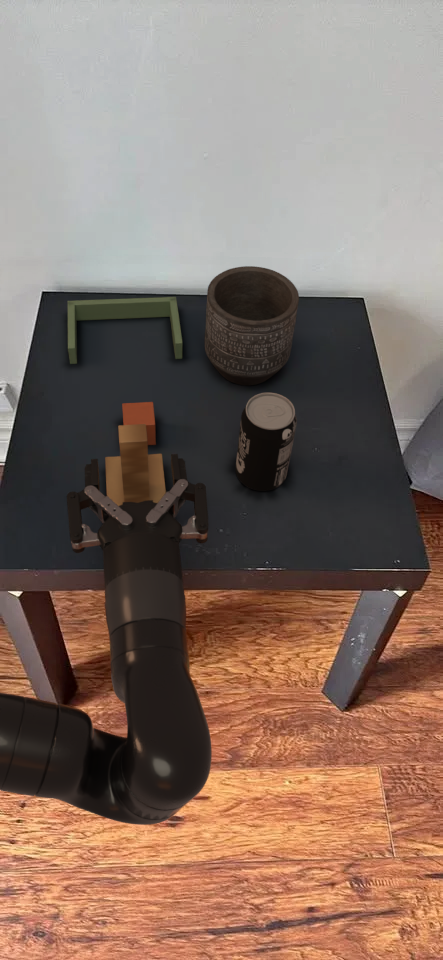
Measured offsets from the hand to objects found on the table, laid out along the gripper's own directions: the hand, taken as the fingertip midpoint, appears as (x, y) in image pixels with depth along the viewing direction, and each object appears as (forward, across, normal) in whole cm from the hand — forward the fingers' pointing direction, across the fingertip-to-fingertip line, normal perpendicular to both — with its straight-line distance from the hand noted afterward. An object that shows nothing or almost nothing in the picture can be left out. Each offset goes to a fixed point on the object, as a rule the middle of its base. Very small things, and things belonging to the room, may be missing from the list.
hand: (134, 461), depth 81 cm
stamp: (+4, 0, +12) cm, 13 cm away
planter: (+26, -17, +12) cm, 34 cm away
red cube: (+14, -1, +12) cm, 19 cm away
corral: (+33, 0, +12) cm, 35 cm away
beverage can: (+6, -16, +12) cm, 21 cm away
